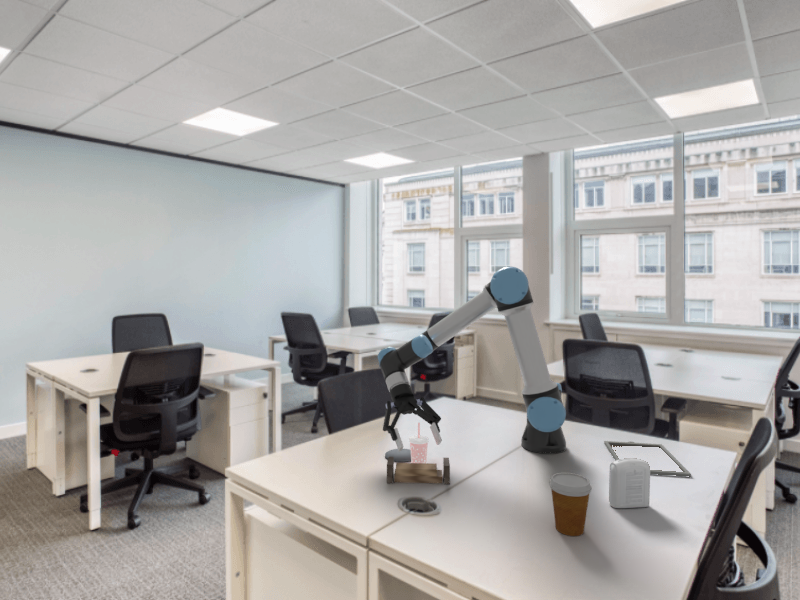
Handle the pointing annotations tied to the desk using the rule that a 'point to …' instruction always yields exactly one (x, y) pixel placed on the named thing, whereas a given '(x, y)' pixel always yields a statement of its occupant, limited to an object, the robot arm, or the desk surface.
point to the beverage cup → (418, 448)
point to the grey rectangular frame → (659, 472)
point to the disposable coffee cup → (570, 502)
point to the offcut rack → (417, 472)
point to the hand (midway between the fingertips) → (420, 446)
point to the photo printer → (629, 483)
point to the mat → (399, 455)
